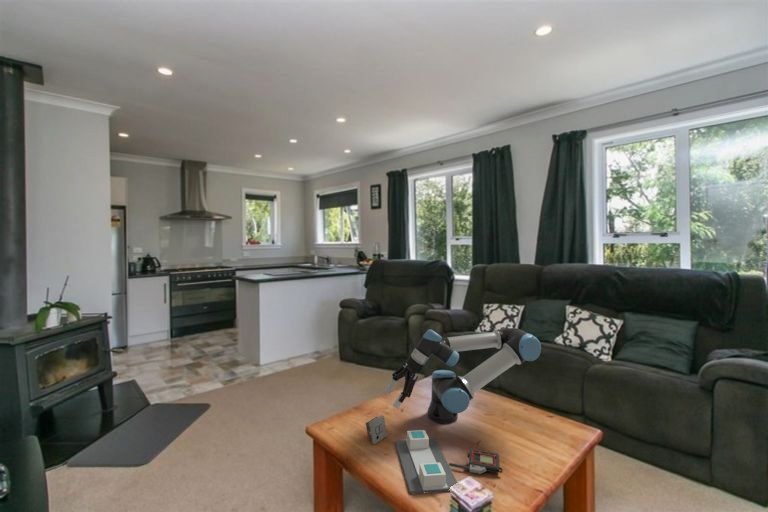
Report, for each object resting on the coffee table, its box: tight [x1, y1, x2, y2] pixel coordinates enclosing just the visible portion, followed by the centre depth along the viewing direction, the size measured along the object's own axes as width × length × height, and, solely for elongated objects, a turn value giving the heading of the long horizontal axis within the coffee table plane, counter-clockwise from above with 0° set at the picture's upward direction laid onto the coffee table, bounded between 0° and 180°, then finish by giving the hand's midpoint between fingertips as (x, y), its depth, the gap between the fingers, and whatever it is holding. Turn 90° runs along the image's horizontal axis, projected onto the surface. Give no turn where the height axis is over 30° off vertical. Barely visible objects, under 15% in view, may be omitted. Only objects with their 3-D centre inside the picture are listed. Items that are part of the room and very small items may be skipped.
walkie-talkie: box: [448, 448, 504, 475], centre depth 139 cm, size 9×4×20 cm
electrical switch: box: [365, 414, 388, 445], centre depth 158 cm, size 9×5×9 cm, turn 141°
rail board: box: [394, 429, 458, 494], centre depth 140 cm, size 18×32×6 cm, turn 8°
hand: (391, 399), depth 161 cm, fingers open, 13 cm apart
